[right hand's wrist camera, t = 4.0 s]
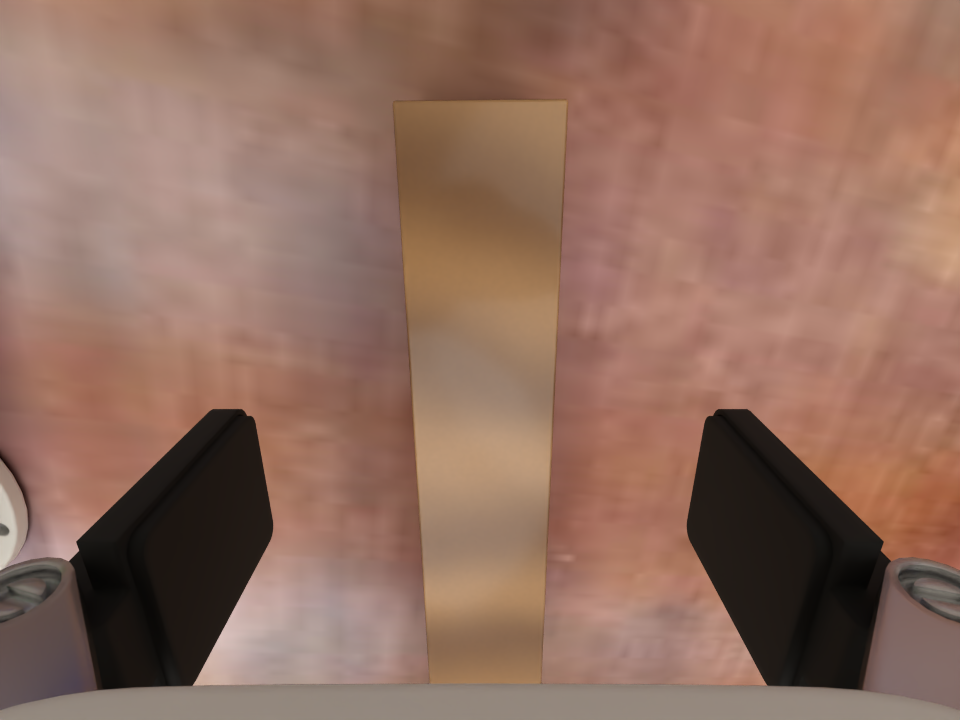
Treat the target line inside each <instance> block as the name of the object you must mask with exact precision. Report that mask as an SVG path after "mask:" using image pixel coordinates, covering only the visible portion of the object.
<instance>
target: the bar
mask: <svg viewBox="0 0 960 720" xmlns="http://www.w3.org/2000/svg"><path fill="white" fill-rule="evenodd" d="M393 115H394V131H395V147H396V163H397V178H398V194H399V210H400V226H401V241H402V257H403V273H404V288H405V304H406V320H407V336H408V351H409V367H410V383H411V399H412V414H413V430H414V446H415V462H416V477H417V493H418V509H419V525H420V540H421V556H422V572H423V587H424V603H425V619H426V635H427V650H428V666H429V682H430V684H462V683H498V684H541V676H542V654H543V633H544V611H545V590H546V568H547V547H548V525H549V504H550V482H551V461H552V439H553V418H554V396H555V375H556V353H557V332H558V310H559V289H560V267H561V246H562V224H563V203H564V181H565V160H566V138H567V117H568V100H566V99H522V100H423V101H394V102H393Z"/></svg>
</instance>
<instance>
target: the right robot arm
mask: <svg viewBox="0 0 960 720" xmlns="http://www.w3.org/2000/svg"><path fill="white" fill-rule="evenodd" d="M27 530H28V513H27V507H26V504H25V501H24V497H23V494H22V491H21V489H20V487H19V486H18V484H17V482H16V480H15V478H14V476H13V474H12V473H11V472H10V470H9V469H8V468H7V466H6V465H5V464H4V463H3V461H2V460H1V459H0V720H960V570H958V569H956V568H953V567H951V566H949V565H946V564H942V563H939V562H936V561H932V560H928V559H921V558H914V557H910V558H898V559H896V560H894V561H892V562H891V561H890V560H889V559H888V558H887V557H886V556H885V555H884V554H883V553H882V552H881V548H882V545H883V542H884V541H882V540H881V539H880V538H879V537H878V536H877V535H876V534H875V533H874V532H873V531H872V530H871V529H870V528H869V527H868V526H867V525H866V524H865V523H864V522H863V521H862V520H861V519H860V518H859V517H858V516H857V515H856V514H855V513H854V512H853V511H852V510H851V509H850V508H849V507H848V506H847V505H846V504H845V503H844V502H843V501H842V500H841V499H840V498H839V497H837V496H836V495H835V494H834V493H833V492H832V491H831V490H830V489H829V488H828V487H827V486H826V485H825V484H824V483H823V482H822V481H821V480H820V479H819V478H818V477H817V476H816V475H815V474H814V473H813V472H812V471H811V470H810V469H809V468H808V467H807V466H806V465H805V464H804V463H803V462H802V461H801V460H800V459H799V458H798V457H797V456H796V455H795V454H793V453H792V452H791V451H790V450H789V449H788V448H787V447H786V446H785V445H784V444H783V443H782V442H781V441H780V440H779V439H778V438H777V437H776V436H775V435H774V434H773V433H772V432H771V431H770V430H769V429H768V428H767V427H766V426H765V425H764V424H763V423H762V422H761V421H760V420H759V419H758V418H757V417H756V416H755V415H754V414H753V413H752V412H751V411H749V410H748V409H718V410H717V411H715V413H714V415H713V416H708V417H707V418H706V420H705V424H704V429H703V435H702V440H701V446H700V452H699V457H698V463H697V468H696V474H695V480H694V485H693V491H692V497H691V502H690V508H689V513H688V519H687V533H688V537H689V540H690V542H691V544H692V546H693V548H694V550H695V551H696V553H697V555H698V557H699V559H700V561H701V563H702V565H703V566H704V568H705V570H706V572H707V574H708V576H709V578H710V580H711V581H712V583H713V585H714V587H715V589H716V591H717V593H718V595H719V596H720V598H721V600H722V602H723V604H724V606H725V608H726V610H727V611H728V613H729V615H730V617H731V619H732V621H733V623H734V625H735V627H736V628H737V630H738V632H739V634H740V636H741V638H742V640H743V642H744V643H745V645H746V647H747V649H748V651H749V653H750V655H751V657H752V658H753V660H754V662H755V664H756V666H757V668H758V670H759V672H760V673H761V675H762V677H763V679H764V681H765V682H766V684H767V685H768V686H757V685H678V684H498V683H462V684H282V685H203V686H192V685H193V684H194V682H195V681H196V679H197V677H198V675H199V673H200V672H201V670H202V668H203V666H204V664H205V662H206V660H207V658H208V657H209V655H210V653H211V651H212V649H213V647H214V645H215V643H216V642H217V640H218V638H219V636H220V634H221V632H222V630H223V628H224V626H225V625H226V623H227V621H228V619H229V617H230V615H231V613H232V611H233V610H234V608H235V606H236V604H237V602H238V600H239V598H240V596H241V595H242V593H243V591H244V589H245V587H246V585H247V583H248V581H249V580H250V578H251V576H252V574H253V572H254V570H255V568H256V566H257V565H258V563H259V561H260V559H261V557H262V555H263V553H264V551H265V550H266V548H267V546H268V544H269V542H270V540H271V537H272V533H273V519H272V513H271V508H270V502H269V497H268V491H267V485H266V480H265V474H264V468H263V463H262V457H261V452H260V446H259V440H258V435H257V429H256V424H255V420H254V418H253V417H252V416H247V415H246V413H245V411H243V410H242V409H212V410H211V411H209V412H208V413H207V414H206V415H205V416H204V417H203V418H202V419H201V420H200V421H199V422H198V423H197V424H196V425H195V426H194V427H193V428H192V429H191V430H190V431H189V432H188V433H187V434H186V435H185V436H184V437H183V438H182V439H181V440H180V441H179V442H178V443H177V444H176V445H175V446H174V447H173V448H172V449H171V450H170V451H169V452H168V453H166V454H165V455H164V456H163V457H162V458H161V459H160V460H159V461H158V462H157V463H156V464H155V465H154V466H153V467H152V468H151V469H150V470H149V471H148V472H147V473H146V474H145V475H144V476H143V477H142V478H141V479H140V480H139V481H138V482H137V483H136V484H135V485H134V486H133V487H132V488H131V489H130V490H129V491H128V492H127V493H126V494H125V495H124V496H123V497H121V498H120V499H119V500H118V501H117V502H116V503H115V504H114V505H113V506H112V507H111V508H110V509H109V510H108V511H107V512H106V513H105V514H104V515H103V516H102V517H101V518H100V519H99V520H98V521H97V522H96V523H95V524H94V525H93V526H92V527H91V528H90V529H89V530H88V531H87V532H86V533H85V534H84V535H83V536H82V537H81V538H80V539H79V540H78V541H76V542H77V545H78V548H79V552H78V553H77V554H76V555H75V556H74V557H73V558H72V559H71V560H70V561H69V562H68V561H66V560H64V559H62V558H50V557H46V558H39V559H32V560H28V561H24V562H21V563H18V564H14V565H11V566H9V567H7V568H5V567H6V566H7V565H8V564H9V563H10V562H11V561H12V560H13V559H14V558H15V557H16V556H17V555H18V554H19V552H20V550H21V548H22V546H23V545H24V543H25V540H26V535H27Z"/></svg>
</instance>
